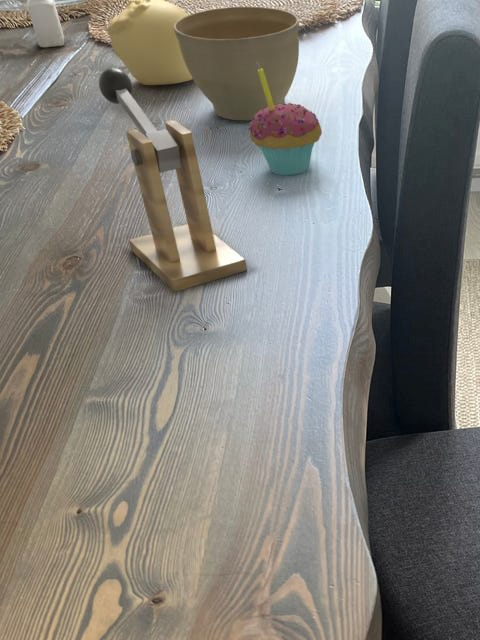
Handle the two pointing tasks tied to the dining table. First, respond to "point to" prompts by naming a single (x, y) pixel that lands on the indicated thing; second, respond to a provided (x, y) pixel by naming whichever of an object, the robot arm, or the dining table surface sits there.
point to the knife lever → (139, 117)
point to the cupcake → (284, 134)
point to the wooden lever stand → (187, 240)
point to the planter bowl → (240, 56)
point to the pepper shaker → (46, 23)
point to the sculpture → (149, 42)
